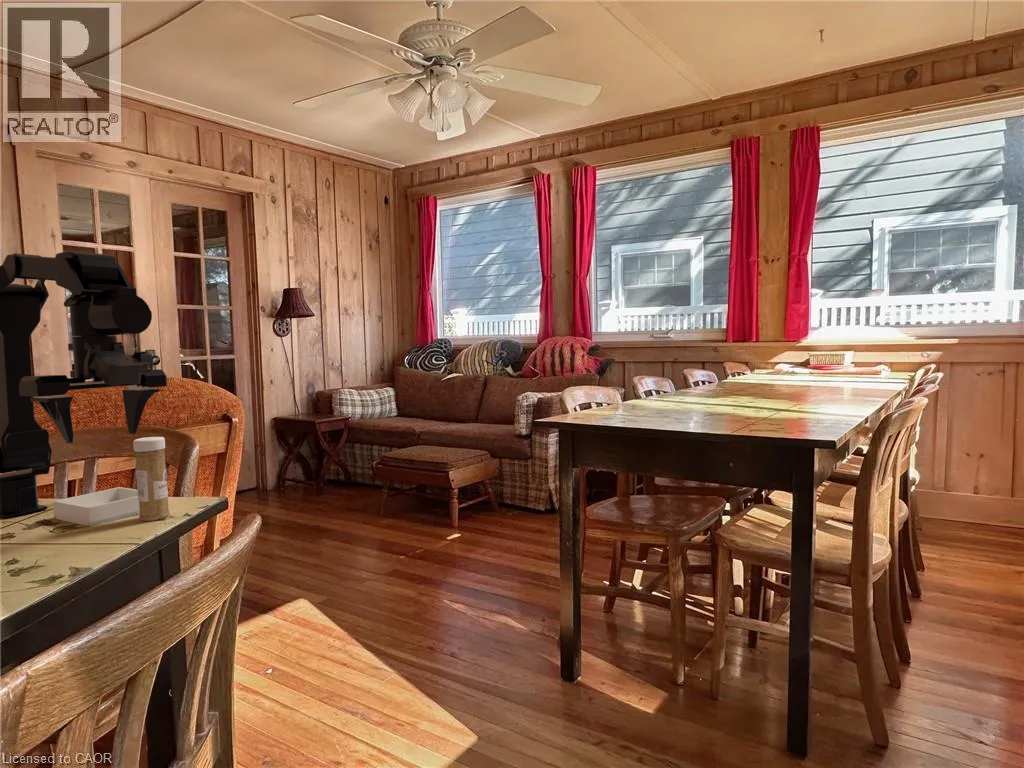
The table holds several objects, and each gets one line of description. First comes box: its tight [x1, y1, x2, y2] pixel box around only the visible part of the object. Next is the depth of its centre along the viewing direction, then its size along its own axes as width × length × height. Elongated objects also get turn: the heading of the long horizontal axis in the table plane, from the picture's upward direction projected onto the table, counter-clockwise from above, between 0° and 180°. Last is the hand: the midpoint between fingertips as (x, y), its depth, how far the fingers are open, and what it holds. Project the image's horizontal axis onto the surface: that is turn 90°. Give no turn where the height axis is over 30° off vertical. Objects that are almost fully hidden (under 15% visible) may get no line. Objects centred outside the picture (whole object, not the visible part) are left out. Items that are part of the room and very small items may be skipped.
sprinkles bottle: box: [132, 436, 171, 522], centre depth 106 cm, size 5×5×14 cm
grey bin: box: [52, 486, 140, 527], centre depth 109 cm, size 11×11×3 cm
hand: (102, 438), depth 98 cm, fingers open, 9 cm apart
